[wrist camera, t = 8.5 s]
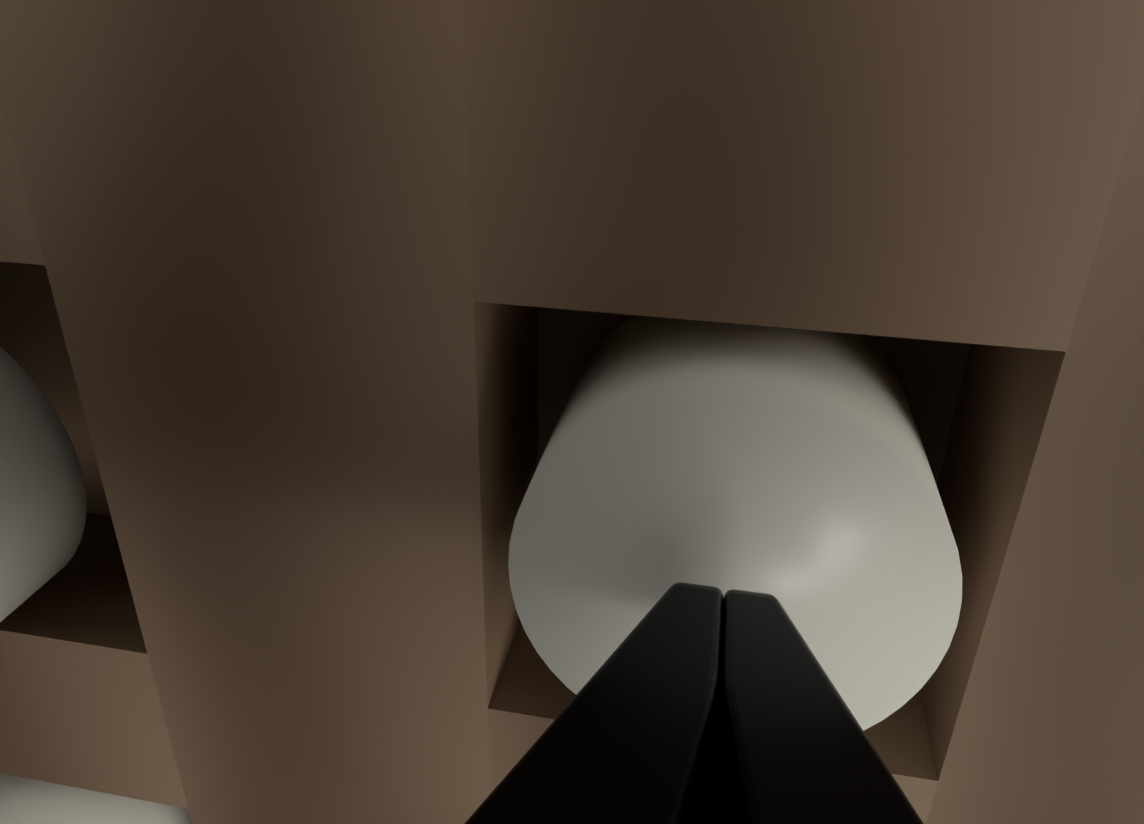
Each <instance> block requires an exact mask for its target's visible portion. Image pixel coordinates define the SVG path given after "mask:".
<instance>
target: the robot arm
mask: <svg viewBox="0 0 1144 824" xmlns="http://www.w3.org/2000/svg"><path fill="white" fill-rule="evenodd" d="M464 824H924V823H923V822H922V820H921V818H920V817H919V815H918V814H917V812H916V811H915V809H914V808H913V806H912V805H911V803H910V802H909V800H908V799H907V797H906V795H905V794H904V792H903V791H902V789H901V788H900V786H899V785H898V783H897V782H896V780H895V779H894V777H893V776H892V774H891V772H890V771H889V769H888V768H887V766H886V765H885V763H884V762H883V760H882V759H881V757H880V756H879V754H878V752H877V751H876V749H875V748H874V746H873V745H872V743H871V742H870V740H869V739H868V737H867V736H866V734H865V733H864V731H863V729H862V728H861V726H860V725H859V723H858V722H857V720H856V719H855V717H854V716H853V714H852V713H851V711H850V709H849V708H848V706H847V705H846V703H845V702H844V700H843V699H842V697H841V696H840V694H839V693H838V691H837V690H836V688H835V686H834V685H833V683H832V682H831V680H830V679H829V677H828V676H827V674H826V673H825V671H824V670H823V668H822V666H821V665H820V663H819V662H818V660H817V659H816V657H815V656H814V654H813V653H812V651H811V650H810V648H809V647H808V645H807V643H806V642H805V640H804V639H803V637H802V636H801V634H800V633H799V631H798V630H797V628H796V627H795V625H794V624H793V622H792V620H791V619H790V617H789V616H788V614H787V613H786V611H785V610H784V608H783V607H782V605H781V604H780V602H779V601H778V599H777V598H776V597H774V596H773V595H771V594H767V593H759V592H751V591H744V590H736V589H730V590H728V591H727V592H726V593H725V595H724V599H723V593H722V591H721V590H720V589H719V588H717V587H714V586H706V585H699V584H691V583H684V582H677V583H675V584H673V585H672V586H671V587H670V588H669V589H668V590H667V591H666V592H665V594H664V595H663V596H662V597H661V598H660V599H659V600H658V602H657V603H656V604H655V605H654V606H653V607H652V609H651V610H650V611H649V612H648V613H647V614H646V615H645V617H644V618H643V619H642V620H641V621H640V622H639V623H638V625H637V626H636V627H635V628H634V629H633V630H632V631H631V633H630V634H629V635H628V636H627V637H626V638H625V640H624V641H623V642H622V643H621V644H620V645H619V646H618V648H617V649H616V650H615V651H614V652H613V653H612V654H611V656H610V657H609V658H608V659H607V660H606V661H605V663H604V664H603V665H602V666H601V667H600V668H599V669H598V671H597V672H596V673H595V674H594V675H593V676H592V677H591V679H590V680H589V681H588V682H587V683H586V684H585V685H584V687H583V688H582V689H581V690H580V691H579V692H578V694H577V695H576V696H575V697H574V698H573V699H572V700H571V702H570V703H569V704H568V705H567V706H566V707H565V708H564V710H563V711H562V712H561V713H560V714H559V715H558V716H557V718H556V719H555V720H554V721H553V722H552V723H551V725H550V726H549V727H548V728H547V729H546V730H545V731H544V733H543V734H542V735H541V736H540V737H539V738H538V739H537V741H536V742H535V743H534V744H533V745H532V746H531V748H530V749H529V750H528V751H527V752H526V753H525V754H524V756H523V757H522V758H521V759H520V760H519V761H518V762H517V764H516V765H515V766H514V767H513V768H512V769H511V770H510V772H509V773H508V774H507V775H506V776H505V777H504V779H503V780H502V781H501V782H500V783H499V784H498V785H497V787H496V788H495V789H494V790H493V791H492V792H491V793H490V795H489V796H488V797H487V798H486V799H485V800H484V802H483V803H482V804H481V805H480V806H479V807H478V808H477V810H476V811H475V812H474V813H473V814H472V815H471V816H470V818H469V819H468V820H467V821H466V822H465V823H464Z"/></svg>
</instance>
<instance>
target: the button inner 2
mask: <svg viewBox="0 0 1144 824" xmlns="http://www.w3.org/2000/svg"><path fill="white" fill-rule="evenodd" d="M0 824H192V821H191V817H190V813H189V810H188V809H187V808H181V807H176V806H171V805H166V804H160V803H155V802H150V801H145V800H139V799H134V798H129V797H124V796H118V795H113V794H108V793H103V792H97V791H92V790H87V789H82V788H76V787H71V786H66V785H61V784H55V783H50V782H45V781H40V780H34V779H29V778H24V777H19V776H13V775H8V774H3V773H0Z"/></svg>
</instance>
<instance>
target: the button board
mask: <svg viewBox="0 0 1144 824" xmlns="http://www.w3.org/2000/svg"><path fill="white" fill-rule="evenodd" d="M632 315H639V316H650V317H662V318H674V319H686V320H698V321H709V322H721V323H733V324H745V325H757V326H768V327H780V328H792V329H804V330H816V331H827V332H839V333H851V334H863V335H866V336H867V337H868V338H869V339H870V340H871V341H872V342H873V343H874V344H875V345H876V346H877V347H878V348H879V349H880V350H881V352H882V353H883V354H884V356H885V357H886V358H887V360H888V361H889V362H890V364H891V365H892V367H893V368H894V370H895V372H896V374H897V376H898V378H899V380H900V382H901V384H902V385H903V388H904V391H905V394H906V397H907V400H908V402H909V405H910V408H911V411H912V414H913V417H914V420H915V423H916V426H917V429H918V432H919V435H920V438H921V441H922V444H923V447H924V450H925V453H926V456H927V459H928V462H929V465H930V468H931V471H932V474H933V477H934V480H935V483H936V486H937V489H938V492H939V495H940V498H941V501H942V504H943V507H944V510H945V513H946V516H947V519H948V522H949V525H950V528H951V531H952V534H953V536H954V539H955V542H956V545H957V548H958V552H959V559H960V565H961V571H962V603H961V609H960V614H959V619H958V625H957V627H956V630H955V633H954V636H953V638H952V641H951V644H950V646H949V649H948V650H947V652H946V654H945V656H944V657H943V659H942V661H941V663H940V664H939V666H938V668H937V670H936V671H935V672H934V673H933V675H932V676H931V677H930V678H929V680H928V681H927V682H926V683H925V685H924V686H923V687H922V688H921V689H920V690H919V691H918V692H917V693H916V694H915V695H914V696H913V697H912V698H911V699H910V700H909V701H908V702H907V703H905V704H904V705H903V706H902V707H901V708H899V709H898V710H896V711H895V712H894V713H892V714H891V715H889V716H888V717H887V718H885V719H884V720H882V721H881V722H879V723H877V724H875V725H873V726H871V727H870V728H868V729H866V730H864V733H865V734H866V736H867V737H868V739H869V740H870V742H871V743H872V745H873V746H874V748H875V749H876V751H877V752H878V754H879V756H880V757H881V759H882V760H883V762H884V763H885V765H886V766H887V768H888V769H889V771H890V772H891V774H892V776H893V777H894V779H895V780H896V782H897V783H898V785H899V786H900V788H901V789H902V791H903V792H904V794H905V795H906V797H907V799H908V800H909V802H910V803H911V805H912V806H913V808H914V809H915V811H916V812H917V814H918V815H919V817H920V818H921V820H922V822H923V823H924V824H1144V0H0V346H1V347H2V348H3V349H4V350H5V351H6V352H7V353H8V354H9V355H10V356H11V357H12V358H13V359H14V360H15V361H16V362H17V363H18V364H19V365H20V366H21V367H22V368H23V369H24V370H25V372H26V373H27V374H28V375H29V376H30V377H31V378H32V380H33V381H34V382H35V383H36V384H37V386H38V387H39V388H40V390H41V391H42V392H43V394H44V395H45V397H46V398H47V399H48V401H49V402H50V403H51V405H52V406H53V408H54V410H55V412H56V413H57V415H58V417H59V418H60V420H61V422H62V423H63V425H64V427H65V429H66V431H67V433H68V435H69V437H70V440H71V442H72V444H73V446H74V448H75V451H76V454H77V457H78V460H79V463H80V466H81V469H82V474H83V479H84V484H85V489H86V503H87V511H86V522H85V528H84V531H83V535H82V539H81V542H80V544H79V546H78V548H77V550H76V552H75V554H74V555H73V557H72V558H71V559H70V561H69V562H68V563H67V565H66V566H65V567H64V568H63V569H61V570H60V571H59V572H58V573H57V574H56V575H54V576H53V577H52V578H51V579H50V580H49V581H48V582H46V583H45V584H44V585H43V586H42V587H41V588H39V589H38V590H37V591H36V592H35V593H34V594H32V595H31V596H30V597H29V598H28V599H27V600H26V601H24V602H23V603H22V604H21V605H20V606H19V607H17V608H16V609H15V610H14V611H13V612H12V613H10V614H9V615H8V616H7V617H6V618H5V619H4V620H2V621H1V622H0V773H3V774H8V775H13V776H19V777H24V778H29V779H34V780H40V781H45V782H50V783H55V784H61V785H66V786H71V787H76V788H82V789H87V790H92V791H97V792H103V793H108V794H113V795H118V796H124V797H129V798H134V799H139V800H145V801H150V802H155V803H160V804H166V805H171V806H176V807H181V808H187V809H188V810H189V813H190V817H191V821H192V824H464V823H465V822H466V821H467V820H468V819H469V818H470V816H471V815H472V814H473V813H474V812H475V811H476V810H477V808H478V807H479V806H480V805H481V804H482V803H483V802H484V800H485V799H486V798H487V797H488V796H489V795H490V793H491V792H492V791H493V790H494V789H495V788H496V787H497V785H498V784H499V783H500V782H501V781H502V780H503V779H504V777H505V776H506V775H507V774H508V773H509V772H510V770H511V769H512V768H513V767H514V766H515V765H516V764H517V762H518V761H519V760H520V759H521V758H522V757H523V756H524V754H525V753H526V752H527V751H528V750H529V749H530V748H531V746H532V745H533V744H534V743H535V742H536V741H537V739H538V738H539V737H540V736H541V735H542V734H543V733H544V731H545V730H546V729H547V728H548V727H549V726H550V725H551V723H552V722H553V721H554V720H555V719H556V718H557V716H558V715H559V714H560V713H561V712H562V711H563V710H564V708H565V707H566V706H567V705H568V704H569V703H570V702H571V700H572V699H573V698H574V697H575V696H576V694H574V693H573V692H572V691H571V690H570V689H568V688H567V687H566V686H565V685H564V684H563V683H562V681H561V680H560V679H559V678H558V677H557V676H556V675H555V674H554V673H553V672H552V671H551V670H550V669H549V667H548V666H547V665H546V663H545V662H544V661H543V659H542V658H541V657H540V655H539V654H538V653H537V652H536V650H535V648H534V646H533V645H532V643H531V641H530V639H529V638H528V636H527V634H526V633H525V631H524V628H523V626H522V623H521V621H520V618H519V616H518V614H517V611H516V608H515V604H514V600H513V596H512V592H511V588H510V578H509V568H508V561H509V544H510V538H511V534H512V529H513V525H514V521H515V518H516V515H517V513H518V510H519V508H520V505H521V503H522V500H523V498H524V496H525V493H526V491H527V489H528V487H529V484H530V482H531V480H532V478H533V475H534V473H535V471H536V469H537V467H538V464H539V462H540V460H541V458H542V455H543V453H544V451H545V449H546V446H547V444H548V442H549V440H550V437H551V435H552V433H553V431H554V428H555V426H556V424H557V422H558V420H559V417H560V415H561V413H562V411H563V408H564V406H565V404H566V402H567V399H568V397H569V395H570V393H571V390H572V388H573V386H574V384H575V381H576V379H577V377H578V375H579V373H580V371H581V370H582V368H583V366H584V365H585V363H586V361H587V359H588V358H589V356H590V355H591V354H592V353H593V351H594V350H595V349H596V348H597V346H598V345H599V344H600V343H601V341H602V340H603V339H604V338H605V337H607V336H608V335H609V334H610V333H611V332H612V331H613V330H614V329H615V328H616V327H617V326H618V325H620V324H621V323H623V322H624V321H625V320H627V319H628V318H630V317H631V316H632Z"/></svg>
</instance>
